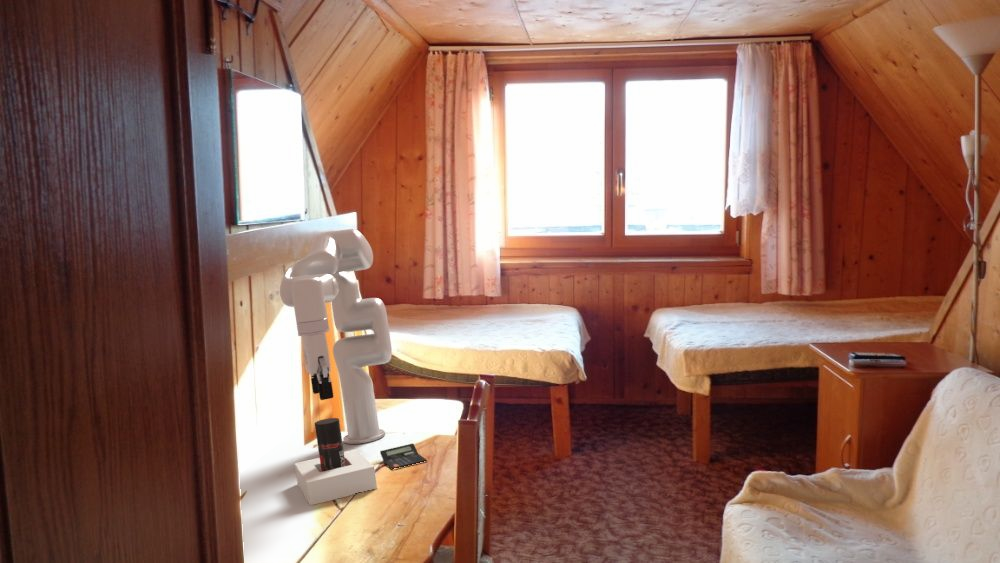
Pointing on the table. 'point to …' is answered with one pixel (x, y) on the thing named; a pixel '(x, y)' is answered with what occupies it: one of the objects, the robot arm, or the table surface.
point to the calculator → (401, 456)
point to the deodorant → (330, 444)
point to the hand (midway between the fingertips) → (323, 395)
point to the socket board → (335, 478)
